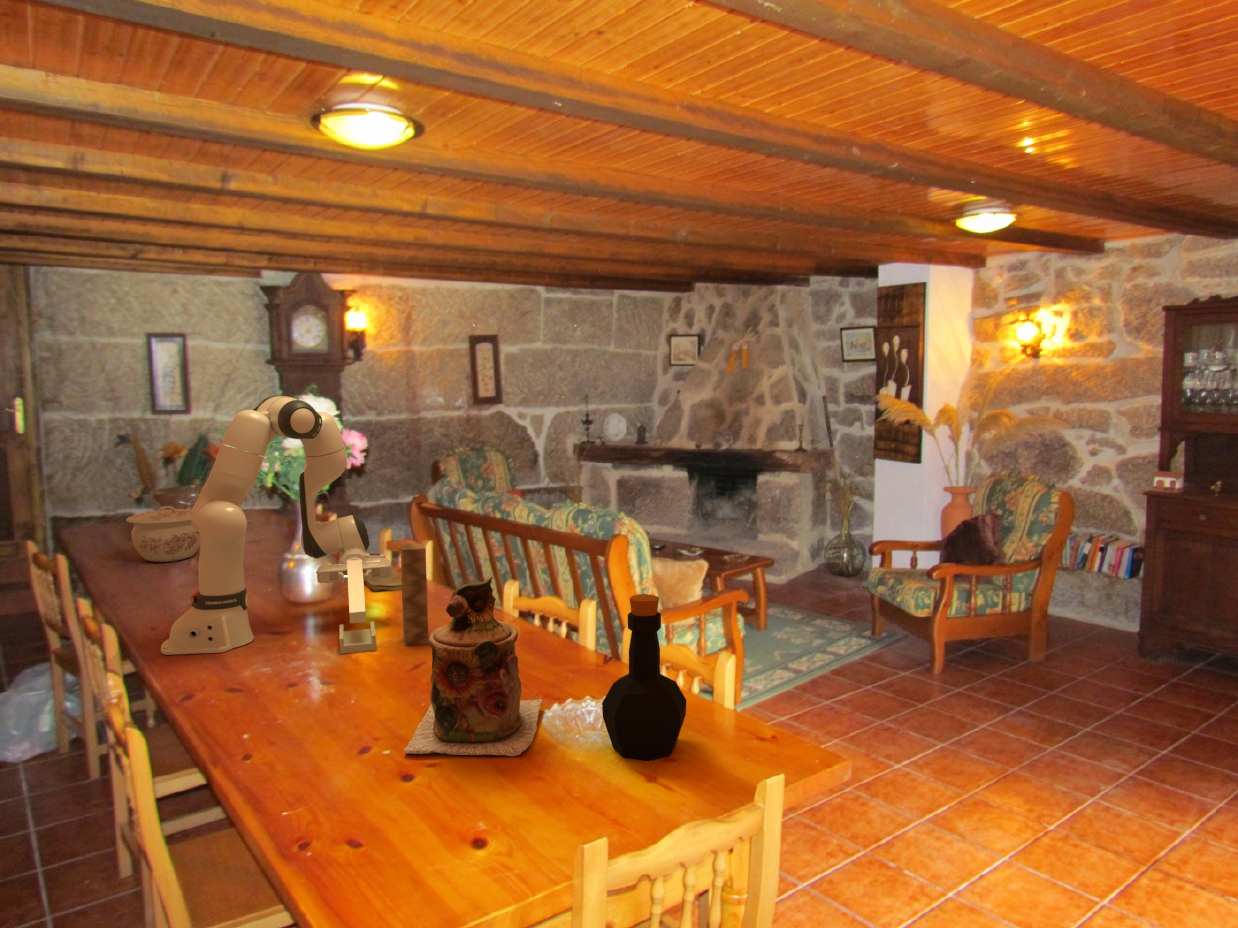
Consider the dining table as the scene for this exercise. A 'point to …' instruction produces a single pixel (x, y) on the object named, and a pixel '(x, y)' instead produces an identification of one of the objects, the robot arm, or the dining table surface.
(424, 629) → the plinth
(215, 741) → the dining table surface
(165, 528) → the chamber pot
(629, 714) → the bottle
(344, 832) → the dining table surface
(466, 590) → the cookie jar
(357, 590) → the beige rectangular bar
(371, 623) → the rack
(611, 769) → the dining table surface
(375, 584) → the stone slab
